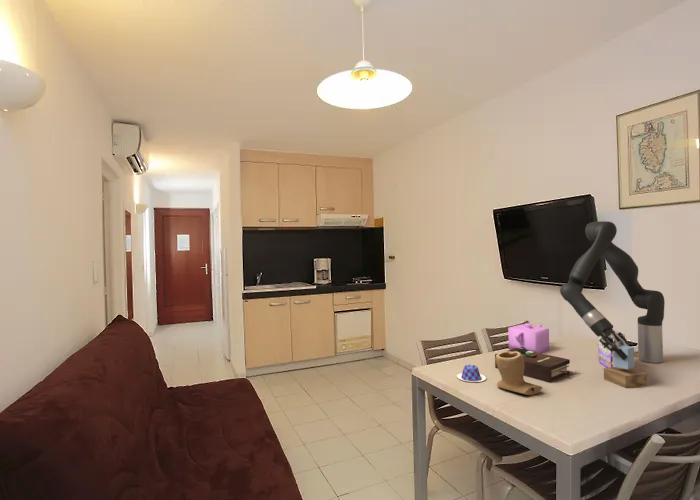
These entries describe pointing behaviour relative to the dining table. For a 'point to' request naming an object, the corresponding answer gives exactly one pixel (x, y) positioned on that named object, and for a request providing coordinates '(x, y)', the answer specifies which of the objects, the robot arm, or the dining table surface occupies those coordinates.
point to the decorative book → (542, 365)
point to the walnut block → (625, 377)
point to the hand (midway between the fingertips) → (629, 357)
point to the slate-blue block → (629, 361)
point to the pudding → (471, 374)
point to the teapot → (529, 337)
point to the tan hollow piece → (514, 373)
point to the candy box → (606, 354)
